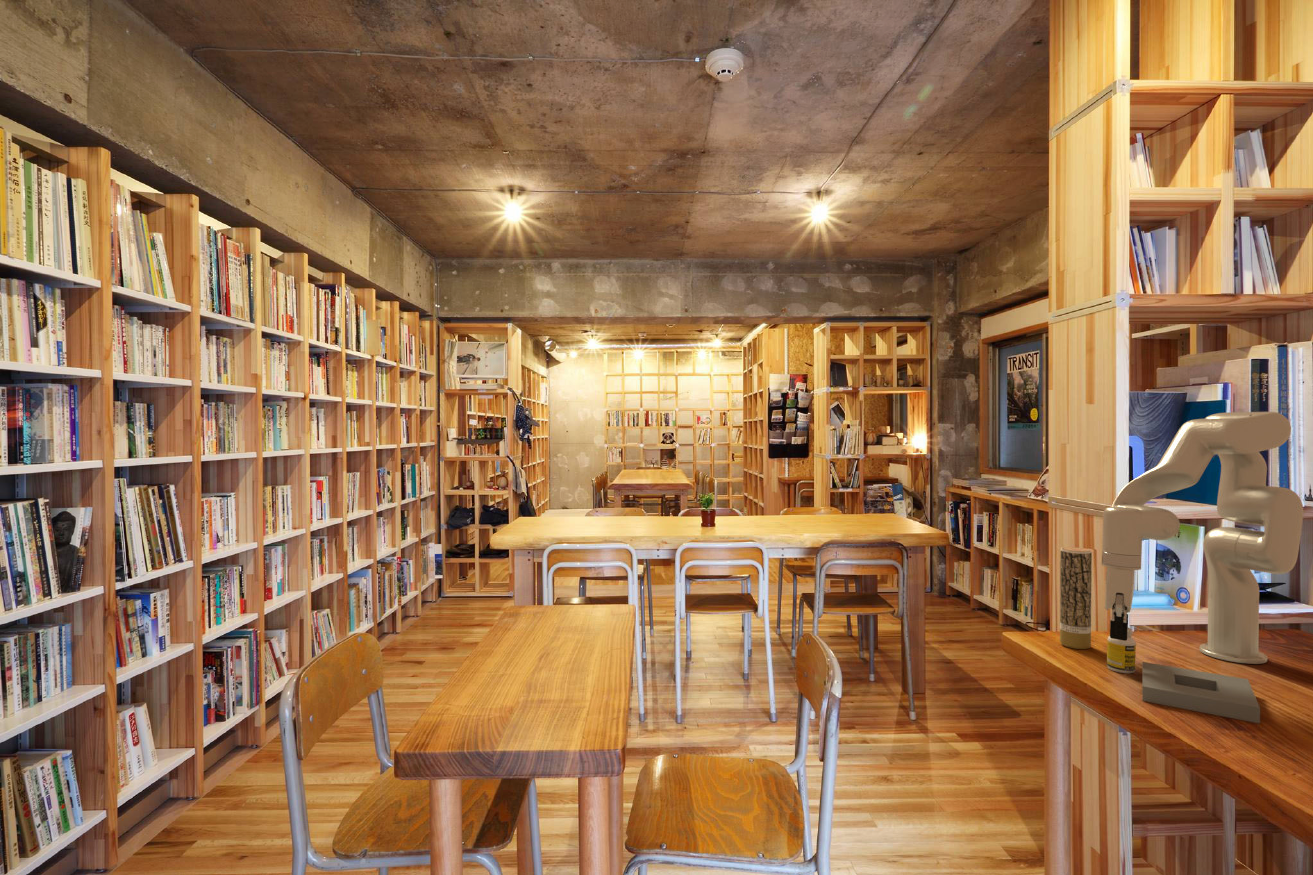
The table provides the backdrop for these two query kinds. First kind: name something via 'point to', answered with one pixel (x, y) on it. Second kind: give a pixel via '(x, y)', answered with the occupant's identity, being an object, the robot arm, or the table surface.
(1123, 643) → the supplement bottle
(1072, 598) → the paper tube
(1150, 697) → the socket board
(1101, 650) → the table surface
